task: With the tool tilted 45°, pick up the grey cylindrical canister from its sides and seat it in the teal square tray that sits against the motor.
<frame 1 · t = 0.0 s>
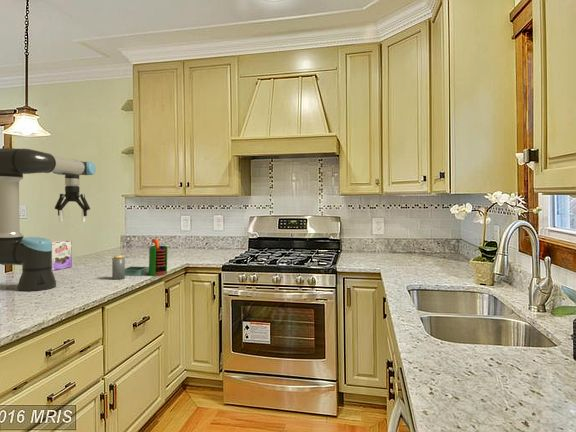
hand: (72, 221, 228), 28 cm above the worktop, tool pointing down, fingers open, 13 cm apart
candy box: (58, 269, 227), on the worktop
motor: (157, 274, 216), on the worktop
teal square tray: (135, 273, 217), on the worktop
grey cylindrical canister: (118, 278, 203), on the worktop
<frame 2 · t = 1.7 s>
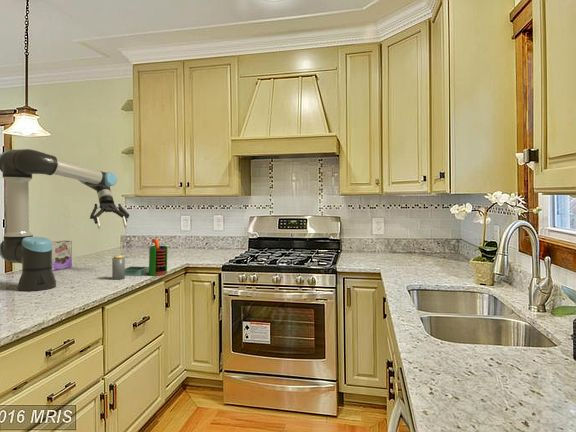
hand: (112, 227, 211), 27 cm above the worktop, tool tilted 45°, fingers open, 13 cm apart
nothing on the worktop moved.
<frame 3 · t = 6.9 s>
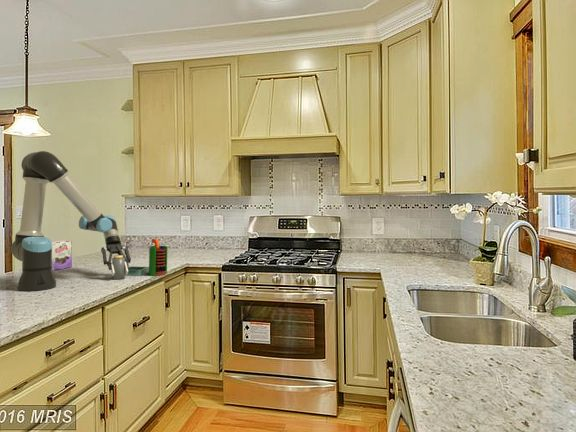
hand: (120, 273, 200), 3 cm above the worktop, tool tilted 45°, fingers closed on grey cylindrical canister, 6 cm apart
grey cylindrical canister: (118, 278, 203), on the worktop, touching gripper
everything else where it was.
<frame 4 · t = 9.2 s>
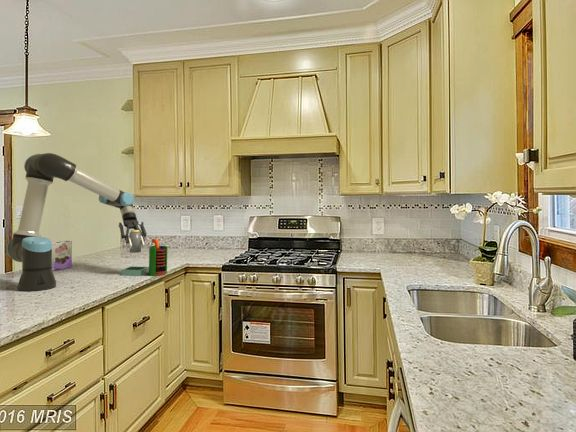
hand: (137, 246, 212), 16 cm above the worktop, tool tilted 45°, fingers closed on grey cylindrical canister, 6 cm apart
grey cylindrical canister: (135, 251, 215), point 13 cm above the worktop, touching gripper
everything else where it was.
when the fingers open (5 cm above the worktop, at t = 11.5 s): grey cylindrical canister drops 1 cm, resting on teal square tray.
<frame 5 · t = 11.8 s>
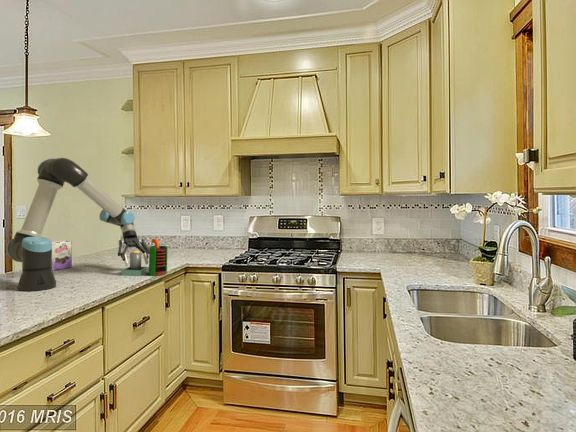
hand: (137, 264, 214), 6 cm above the worktop, tool tilted 45°, fingers open, 10 cm apart
grey cylindrical canister: (135, 272, 217), point 1 cm above the worktop, touching teal square tray
everything else where it was.
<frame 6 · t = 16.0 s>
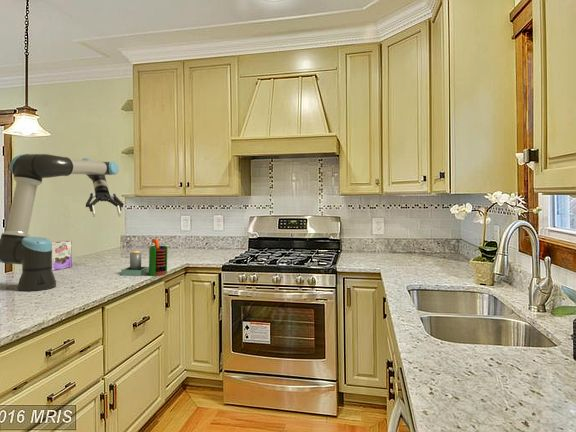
hand: (107, 215, 220), 33 cm above the worktop, tool tilted 45°, fingers open, 13 cm apart
nothing on the worktop moved.
at the end: grey cylindrical canister 0.1 cm off-centre on the teal square tray, point 0.6 cm above the teal square tray's base; grey cylindrical canister tilted 1°; the gripper is holding nothing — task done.
